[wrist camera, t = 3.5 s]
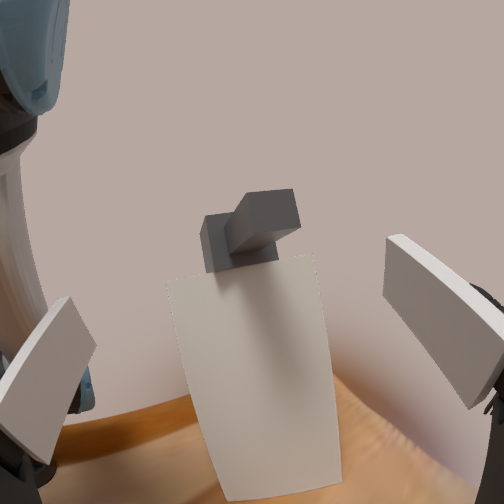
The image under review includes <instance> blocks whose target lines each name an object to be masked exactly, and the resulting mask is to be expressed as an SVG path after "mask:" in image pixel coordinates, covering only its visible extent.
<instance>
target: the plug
mask: <svg viewBox="0 0 504 504" xmlns="http://www.w3.org/2000/svg"><path fill="white" fill-rule="evenodd" d="M299 228H301V224H300V219H299V215H298V211H297V207H296V201H295V197H294V193H293V189H283V190H271V191H260V192H249V193H246V194H245V196H244V197H243V199H242V200H241V202H240V203H239V205H238V206H237V208H236V209H235V211H234V212H230V213H223V214H215V215H208V216H205V218H204V222H203V225H202V228H201V232H200V238H201V244H202V250H203V256H204V262H205V268H206V273H211V272H217V271H222V270H228V269H233V268H239V267H244V266H249V265H255V264H260V263H265V262H271V261H276V260H279V258H278V253H277V249H276V243H275V241H277V240H279V239H280V238H282V237H284V236H286V235H288V234H290V233H292V232H293V231H295V230H297V229H299Z"/></svg>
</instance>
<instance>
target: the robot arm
mask: <svg viewBox="0 0 504 504" xmlns="http://www.w3.org/2000/svg"><path fill="white" fill-rule="evenodd" d="M69 4H70V0H0V504H42V501H41V498H40V495H39V493H38V490H37V488H38V487H40V486H42V485H43V484H45V483H46V482H48V481H49V480H50V479H51V478H52V476H53V475H54V473H55V470H56V464H55V461H54V459H53V458H52V455H53V452H54V449H55V446H56V443H57V440H58V437H59V434H60V431H61V428H62V426H63V423H64V420H65V417H66V415H67V414H74V413H75V414H80V413H81V412H84V411H89V410H91V409H93V408H94V406H95V397H94V392H93V388H92V384H91V378H90V374H89V368H88V363H89V361H90V359H91V356H92V354H93V352H94V350H95V348H96V346H97V345H96V343H95V341H94V340H93V338H92V336H91V334H90V333H89V331H88V329H87V327H86V326H85V324H84V322H83V321H82V318H81V316H80V315H79V313H78V311H77V309H76V307H75V305H74V303H73V301H72V299H71V297H63V298H58V299H57V301H56V302H55V303H54V304H53V306H52V307H51V308H50V309H49V310H48V308H47V304H46V301H45V298H44V295H43V292H42V289H41V285H40V282H39V278H38V275H37V271H36V267H35V263H34V259H33V254H32V250H31V245H30V240H29V235H28V230H27V224H26V218H25V211H24V204H23V195H22V185H21V175H20V174H21V173H20V155H21V154H22V152H23V151H24V150H25V149H26V147H27V146H28V145H29V143H30V142H31V141H32V140H33V139H34V137H35V136H36V133H37V117H38V115H42V114H44V113H45V112H47V111H49V110H51V109H52V108H53V106H54V105H55V103H56V100H57V97H58V93H59V89H60V79H61V71H62V67H63V60H64V51H65V42H66V33H67V23H68V15H69ZM383 296H384V298H385V299H386V300H387V301H388V302H389V304H390V305H391V306H392V307H393V308H394V310H395V311H396V312H397V313H398V315H399V316H400V317H401V318H402V320H403V321H404V322H405V323H406V325H407V326H408V327H409V328H410V330H411V331H412V332H413V333H414V335H415V336H416V337H417V339H418V340H419V341H420V342H421V344H422V345H423V346H424V347H425V349H426V350H427V352H428V353H429V354H430V356H431V357H432V358H433V360H434V361H435V363H436V364H437V365H438V367H439V368H440V369H441V371H442V372H443V374H444V375H445V376H446V378H447V379H448V381H449V382H450V383H451V385H452V386H453V388H454V389H455V391H456V392H457V394H458V395H459V397H460V398H461V400H462V401H463V403H464V404H465V406H466V407H467V409H468V410H470V409H471V408H473V407H474V406H476V405H477V404H478V403H480V402H482V401H483V400H484V399H485V398H486V397H487V395H488V394H489V392H490V391H491V389H492V388H493V387H494V388H495V390H496V391H497V392H496V394H495V395H494V397H493V399H492V400H491V401H490V403H489V404H488V405H487V407H486V408H485V411H484V414H487V413H488V411H489V410H490V409H491V407H492V406H493V410H492V412H491V413H490V415H492V423H491V432H490V439H489V446H488V452H487V458H486V462H485V467H484V471H483V476H482V480H481V484H480V487H479V491H478V494H477V498H476V501H475V504H504V307H503V306H501V304H500V303H499V302H498V301H497V300H495V299H493V297H492V296H491V295H490V294H488V293H487V292H486V291H485V290H483V289H482V288H480V287H478V286H476V285H473V284H471V283H470V284H468V283H467V282H466V281H465V280H464V279H462V278H461V277H460V276H459V275H457V274H456V273H455V272H454V271H452V270H451V269H449V268H448V267H447V266H446V265H444V264H443V263H442V262H441V261H439V260H438V259H437V258H435V257H434V256H433V255H431V254H430V253H428V252H427V251H426V250H424V249H423V248H422V247H420V246H419V245H417V244H416V243H414V242H413V241H412V240H410V239H409V238H407V237H406V236H405V235H403V234H397V235H392V236H388V237H386V255H385V272H384V286H383Z"/></svg>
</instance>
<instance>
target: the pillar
mask: <svg viewBox="0 0 504 504" xmlns="http://www.w3.org/2000/svg"><path fill="white" fill-rule="evenodd" d="M166 286H167V292H168V297H169V303H170V307H171V313H172V318H173V323H174V327H175V332H176V337H177V342H178V346H179V350H180V354H181V359H182V363H183V367H184V371H185V374H186V379H187V383H188V386H189V390H190V394H191V397H192V401H193V404H194V408H195V411H196V415H197V418H198V421H199V424H200V428H201V431H202V434H203V437H204V440H205V443H206V446H207V449H208V452H209V455H210V458H211V461H212V463H213V466H214V469H215V472H216V474H217V477H218V480H219V482H220V485H221V487H222V490H223V492H224V495H225V497H226V500H227V502H228V501H243V500H254V499H263V498H270V497H277V496H284V495H289V494H295V493H300V492H305V491H309V490H314V489H318V488H322V487H326V486H330V485H334V484H337V483H341V482H342V471H341V454H340V441H339V429H338V418H337V408H336V399H335V390H334V382H333V374H332V367H331V359H330V352H329V345H328V338H327V331H326V325H325V319H324V313H323V307H322V301H321V295H320V290H319V284H318V279H317V273H316V268H315V263H314V258H313V254H307V255H303V256H297V257H292V258H287V259H281V260H276V261H271V262H265V263H260V264H255V265H249V266H244V267H239V268H233V269H228V270H222V271H217V272H211V273H206V274H201V275H195V276H190V277H184V278H178V279H172V280H167V281H166Z"/></svg>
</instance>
